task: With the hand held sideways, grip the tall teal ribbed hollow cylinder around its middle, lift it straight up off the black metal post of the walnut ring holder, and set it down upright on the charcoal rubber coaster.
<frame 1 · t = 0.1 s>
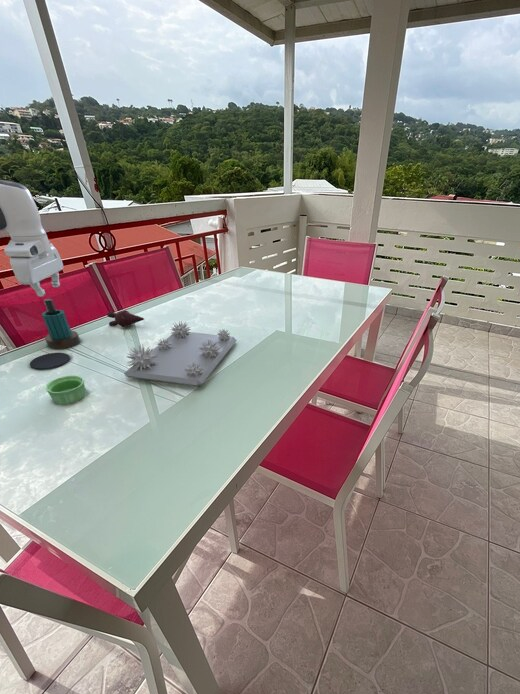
hand: (49, 291, 107), 20 cm above the table, tool pointing down, fingers open, 8 cm apart
coaster: (50, 361, 108), on the table
teal ribbed hollow cylinder: (61, 335, 118), point 3 cm above the table, touching ring holder
decorative tray: (186, 360, 114), on the table
ring holder: (64, 343, 120), on the table
icecream: (127, 327, 135), on the table
ramekin: (70, 397, 93), on the table
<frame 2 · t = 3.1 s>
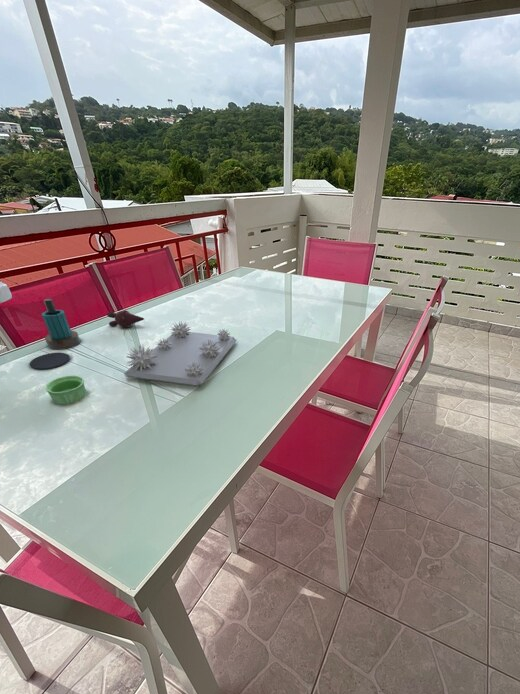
nothing on the table moved.
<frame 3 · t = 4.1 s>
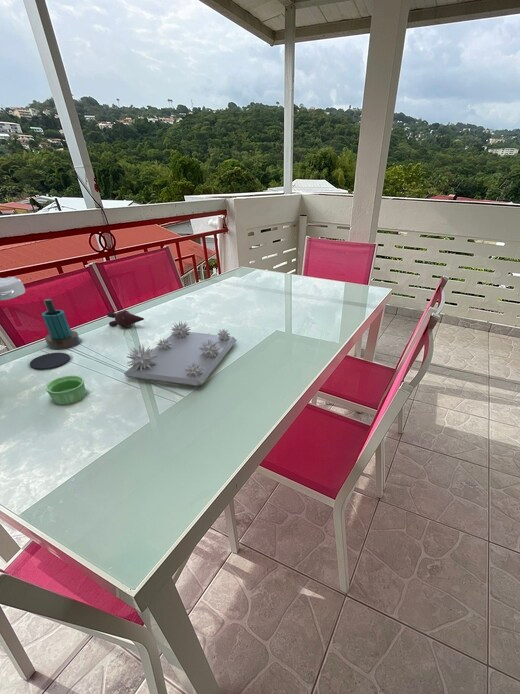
nothing on the table moved.
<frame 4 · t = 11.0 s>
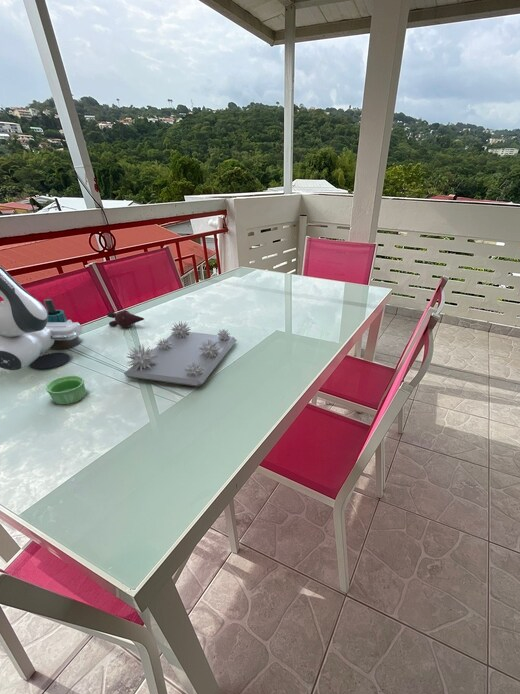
hand: (57, 321, 116), 8 cm above the table, tool horizontal, fingers closed on teal ribbed hollow cylinder, 6 cm apart
teal ribbed hollow cylinder: (61, 335, 118), point 3 cm above the table, touching gripper, ring holder
everything else where it was.
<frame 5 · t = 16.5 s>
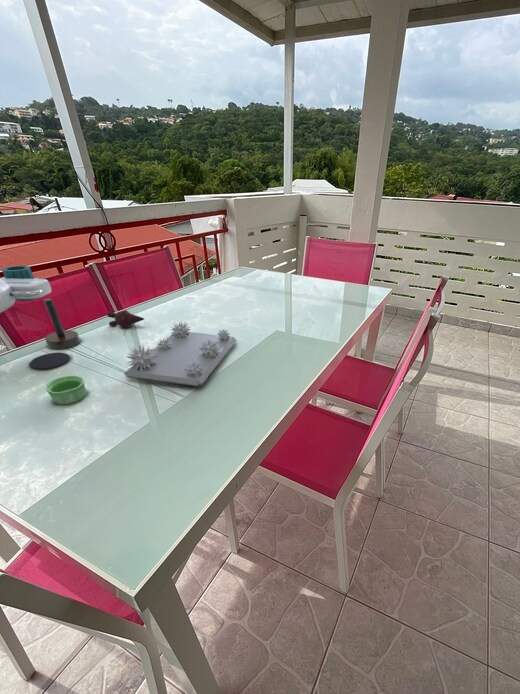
hand: (22, 280, 96), 25 cm above the table, tool horizontal, fingers closed on teal ribbed hollow cylinder, 6 cm apart
teal ribbed hollow cylinder: (28, 297, 99), point 20 cm above the table, touching gripper
everything else where it was.
when the fingers open (6 cm above the table, at t = 22.4 s): teal ribbed hollow cylinder stays where it is, resting on coaster.
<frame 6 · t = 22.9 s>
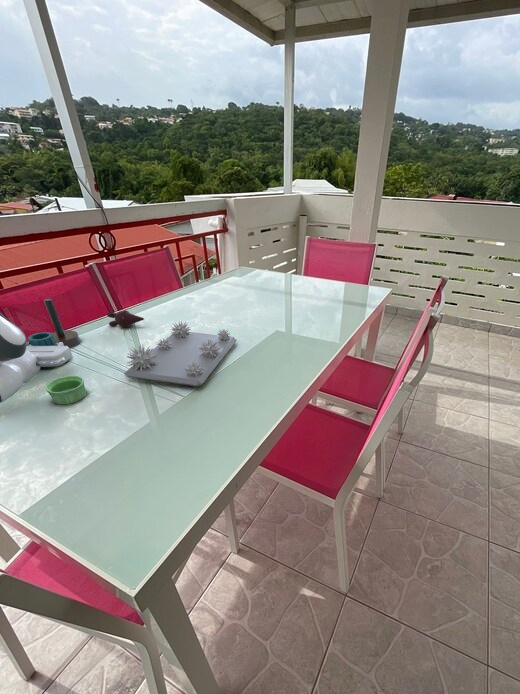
hand: (45, 344, 106), 6 cm above the table, tool horizontal, fingers open, 8 cm apart
teal ribbed hollow cylinder: (50, 360, 108), point 1 cm above the table, touching coaster
everything else where it was.
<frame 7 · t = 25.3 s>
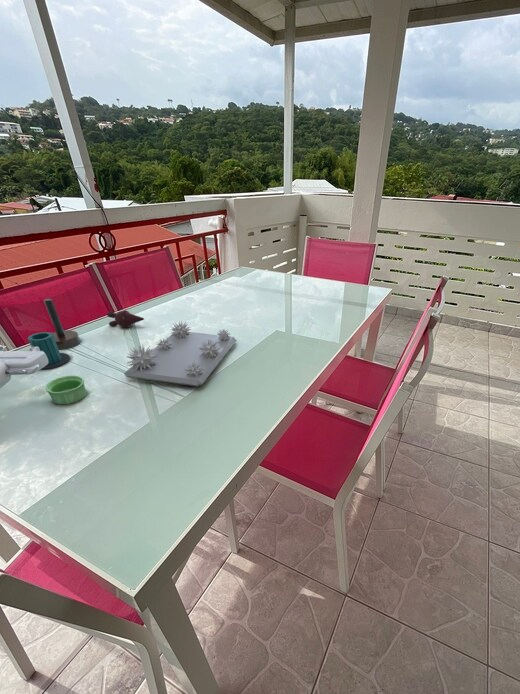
hand: (18, 348, 94), 10 cm above the table, tool horizontal, fingers open, 8 cm apart
nothing on the table moved.
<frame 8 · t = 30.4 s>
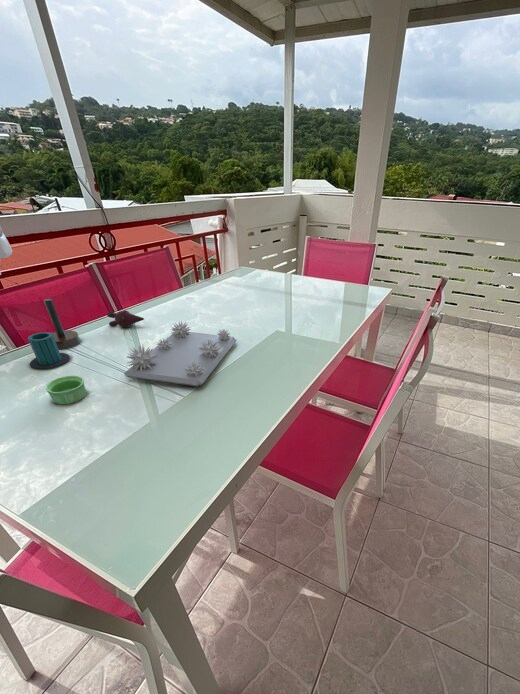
nothing on the table moved.
at the end: teal ribbed hollow cylinder inside the target area (0.1 cm from its centre), point 0.6 cm above the table; teal ribbed hollow cylinder tilted 0°; the gripper is holding nothing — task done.
